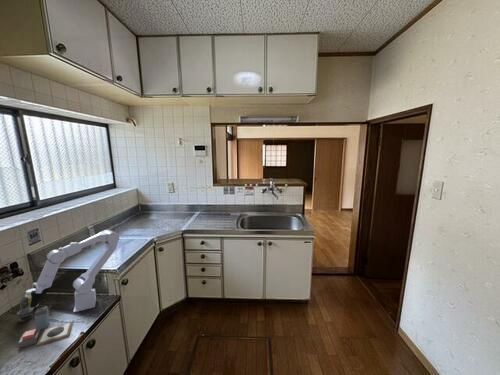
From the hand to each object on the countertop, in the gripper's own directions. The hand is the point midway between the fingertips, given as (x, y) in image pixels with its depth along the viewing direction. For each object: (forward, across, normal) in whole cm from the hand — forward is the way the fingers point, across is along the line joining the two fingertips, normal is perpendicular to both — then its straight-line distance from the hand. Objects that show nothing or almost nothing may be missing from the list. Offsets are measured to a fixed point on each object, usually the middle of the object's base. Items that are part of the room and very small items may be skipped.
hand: (35, 303), depth 104 cm
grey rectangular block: (+10, 0, +6) cm, 12 cm away
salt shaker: (+12, -12, -2) cm, 17 cm away
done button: (+11, +9, +4) cm, 14 cm away
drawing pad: (+9, +9, +13) cm, 18 cm away
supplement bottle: (+10, -22, -3) cm, 25 cm away
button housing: (+12, +8, +4) cm, 16 cm away
